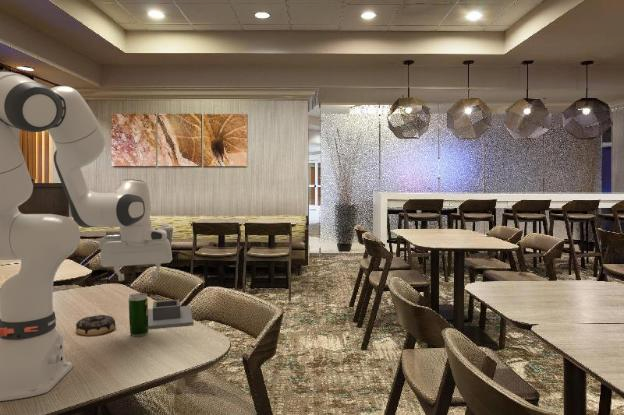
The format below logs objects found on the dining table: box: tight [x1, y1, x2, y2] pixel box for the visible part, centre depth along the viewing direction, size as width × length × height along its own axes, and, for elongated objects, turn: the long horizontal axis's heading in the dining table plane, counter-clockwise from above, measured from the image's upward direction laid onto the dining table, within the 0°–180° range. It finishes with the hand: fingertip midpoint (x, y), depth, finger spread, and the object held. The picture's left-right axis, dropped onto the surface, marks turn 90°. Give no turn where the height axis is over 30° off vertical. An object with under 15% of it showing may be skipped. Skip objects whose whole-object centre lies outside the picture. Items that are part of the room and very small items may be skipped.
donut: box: [75, 314, 116, 337], centre depth 150 cm, size 11×12×4 cm
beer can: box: [128, 292, 150, 338], centre depth 146 cm, size 5×5×12 cm
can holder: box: [148, 299, 194, 330], centre depth 162 cm, size 20×16×5 cm
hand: (138, 279), depth 146 cm, fingers open, 8 cm apart
